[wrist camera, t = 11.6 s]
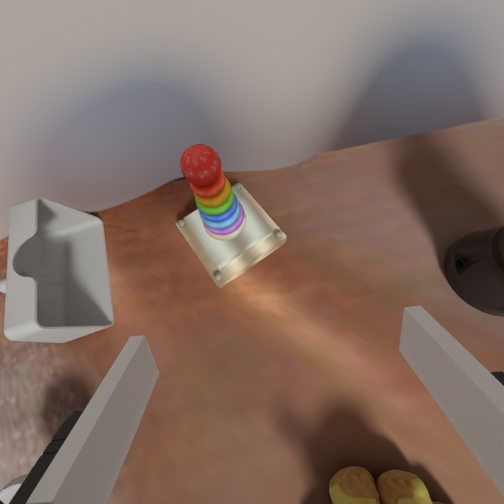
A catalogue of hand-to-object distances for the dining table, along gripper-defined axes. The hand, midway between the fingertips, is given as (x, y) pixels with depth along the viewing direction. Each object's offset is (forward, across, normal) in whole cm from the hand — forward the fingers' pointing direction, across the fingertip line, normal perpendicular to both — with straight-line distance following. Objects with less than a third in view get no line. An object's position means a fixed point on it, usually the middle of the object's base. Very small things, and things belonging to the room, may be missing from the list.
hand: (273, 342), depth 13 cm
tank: (+36, -41, -12) cm, 56 cm away
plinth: (+40, -6, -8) cm, 41 cm away
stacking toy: (+36, -6, -4) cm, 37 cm away
